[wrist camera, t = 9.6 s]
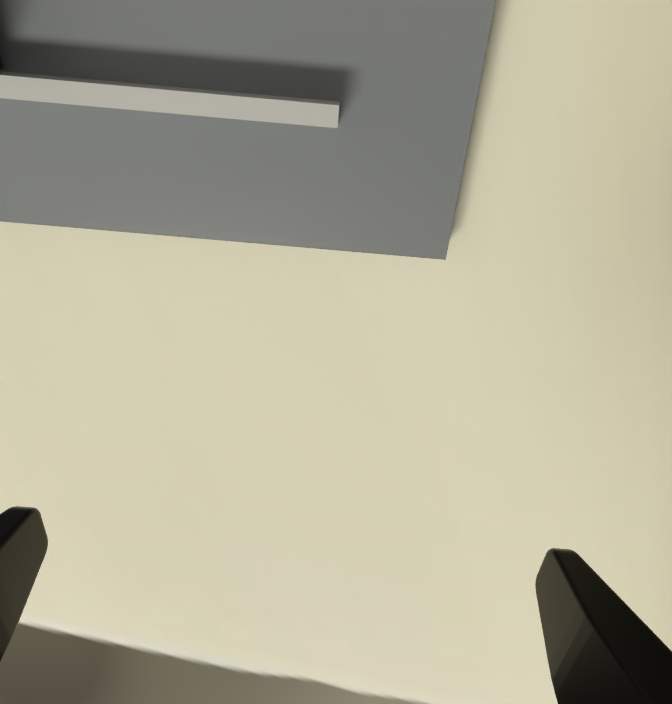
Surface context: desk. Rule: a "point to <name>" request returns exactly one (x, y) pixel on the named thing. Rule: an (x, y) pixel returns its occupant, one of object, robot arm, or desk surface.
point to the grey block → (0, 64)
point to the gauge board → (242, 118)
